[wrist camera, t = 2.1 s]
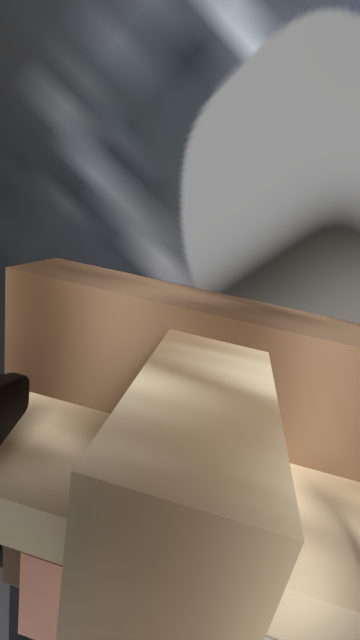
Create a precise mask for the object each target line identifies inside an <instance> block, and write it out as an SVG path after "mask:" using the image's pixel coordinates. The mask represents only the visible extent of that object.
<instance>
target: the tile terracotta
mask: <svg viewBox="0 0 360 640" xmlns="http://www.w3.org/2000/svg"><path fill="white" fill-rule="evenodd" d="M62 566H63V565H60V564H57V563H54V562H51V561H48V560H45V559H42V558H39V557H36V556H33V555H30V554H27V553H24V552H21V557H20V587H19V617H18V634H20V635H23V636H26V637H28V638H31V639H34V640H56V632H57V621H58V610H59V599H60V588H61V577H62Z"/></svg>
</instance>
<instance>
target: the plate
mask: <svg viewBox="0 0 360 640" xmlns="http://www.w3.org/2000/svg"><path fill="white" fill-rule="evenodd" d="M169 329H172V330H176V331H180V332H184V333H189V334H193V335H197V336H201V337H205V338H210V339H214V340H218V341H222V342H227V343H231V344H235V345H239V346H244V347H248V348H252V349H256V350H261V351H265V352H269V357H270V362H271V367H272V372H273V378H274V383H275V388H276V393H277V399H278V404H279V409H280V415H281V420H282V425H283V430H284V436H285V441H286V446H287V451H288V457H289V462H290V463H291V464H295V465H299V466H302V467H306V468H310V469H313V470H317V471H321V472H324V473H328V474H332V475H335V476H339V477H342V478H346V479H350V480H353V481H357V482H360V324H359V323H354V322H350V321H345V320H341V319H336V318H331V317H327V316H322V315H318V314H312V313H309V312H304V311H299V310H295V309H290V308H285V307H281V306H276V305H272V304H267V303H263V302H258V301H253V300H249V299H244V298H239V297H235V296H230V295H226V294H221V293H216V292H212V291H207V290H203V289H198V288H194V287H189V286H185V285H180V284H175V283H171V282H166V281H162V280H157V279H152V278H148V277H143V276H139V275H134V274H129V273H125V272H120V271H116V270H111V269H106V268H102V267H97V266H93V265H88V264H83V263H79V262H74V261H70V260H65V259H60V258H52V259H47V260H42V261H37V262H32V263H27V264H21V265H16V266H11V267H6V282H5V374H7V373H12V372H14V373H19V374H22V375H26V376H27V377H28V378H29V380H30V386H29V392H33V393H36V394H40V395H44V396H47V397H51V398H55V399H58V400H62V401H65V402H69V403H73V404H76V405H80V406H84V407H87V408H91V409H95V410H98V411H102V412H106V413H109V414H111V413H112V411H113V410H114V409H115V407H116V406H117V404H118V403H119V401H120V400H121V398H122V397H123V396H124V394H125V393H126V391H127V390H128V388H129V387H130V385H131V384H132V383H133V381H134V380H135V378H136V377H137V375H138V374H139V372H140V371H141V370H142V368H143V367H144V365H145V364H146V362H147V361H148V359H149V358H150V357H151V355H152V354H153V352H154V351H155V349H156V348H157V346H158V345H159V344H160V342H161V341H162V339H163V338H164V336H165V335H166V333H167V332H168V331H169ZM20 557H21V551H18V550H16V549H13V548H10V547H7V546H4V545H3V581H4V582H6V583H9V584H12V585H15V586H18V587H20Z"/></svg>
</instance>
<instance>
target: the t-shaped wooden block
mask: <svg viewBox="0 0 360 640" xmlns="http://www.w3.org/2000/svg"><path fill="white" fill-rule="evenodd" d="M0 544H1V545H4V546H7V547H10V548H13V549H16V550H18V551H21V552H24V553H27V554H30V555H33V556H36V557H39V558H42V559H45V560H48V561H51V562H54V563H57V564H60V565H63V566H62V577H61V588H60V599H59V610H58V621H57V632H56V640H264V639H265V637H266V635H268V636H271V637H274V638H277V639H280V640H360V482H357V481H353V480H350V479H346V478H342V477H339V476H335V475H332V474H328V473H324V472H321V471H317V470H313V469H310V468H306V467H302V466H299V465H295V464H291V463H290V462H289V457H288V451H287V446H286V441H285V436H284V430H283V425H282V420H281V415H280V409H279V404H278V399H277V393H276V388H275V383H274V378H273V372H272V367H271V362H270V357H269V352H265V351H261V350H256V349H252V348H248V347H244V346H239V345H235V344H231V343H227V342H222V341H218V340H214V339H210V338H205V337H201V336H197V335H193V334H189V333H184V332H180V331H176V330H172V329H169V331H168V332H167V333H166V335H165V336H164V338H163V339H162V341H161V342H160V344H159V345H158V346H157V348H156V349H155V351H154V352H153V354H152V355H151V357H150V358H149V359H148V361H147V362H146V364H145V365H144V367H143V368H142V370H141V371H140V372H139V374H138V375H137V377H136V378H135V380H134V381H133V383H132V384H131V385H130V387H129V388H128V390H127V391H126V393H125V394H124V396H123V397H122V398H121V400H120V401H119V403H118V404H117V406H116V407H115V409H114V410H113V411H112V413H111V414H109V413H106V412H102V411H98V410H95V409H91V408H87V407H84V406H80V405H76V404H73V403H69V402H65V401H62V400H58V399H55V398H51V397H47V396H44V395H40V394H36V393H33V392H29V404H28V408H27V410H26V412H25V413H24V415H23V416H22V417H21V419H20V420H19V421H18V423H17V424H16V425H15V427H14V428H13V430H12V431H11V432H10V434H9V435H8V436H7V438H6V439H5V440H4V442H3V443H2V444H1V446H0Z"/></svg>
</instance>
